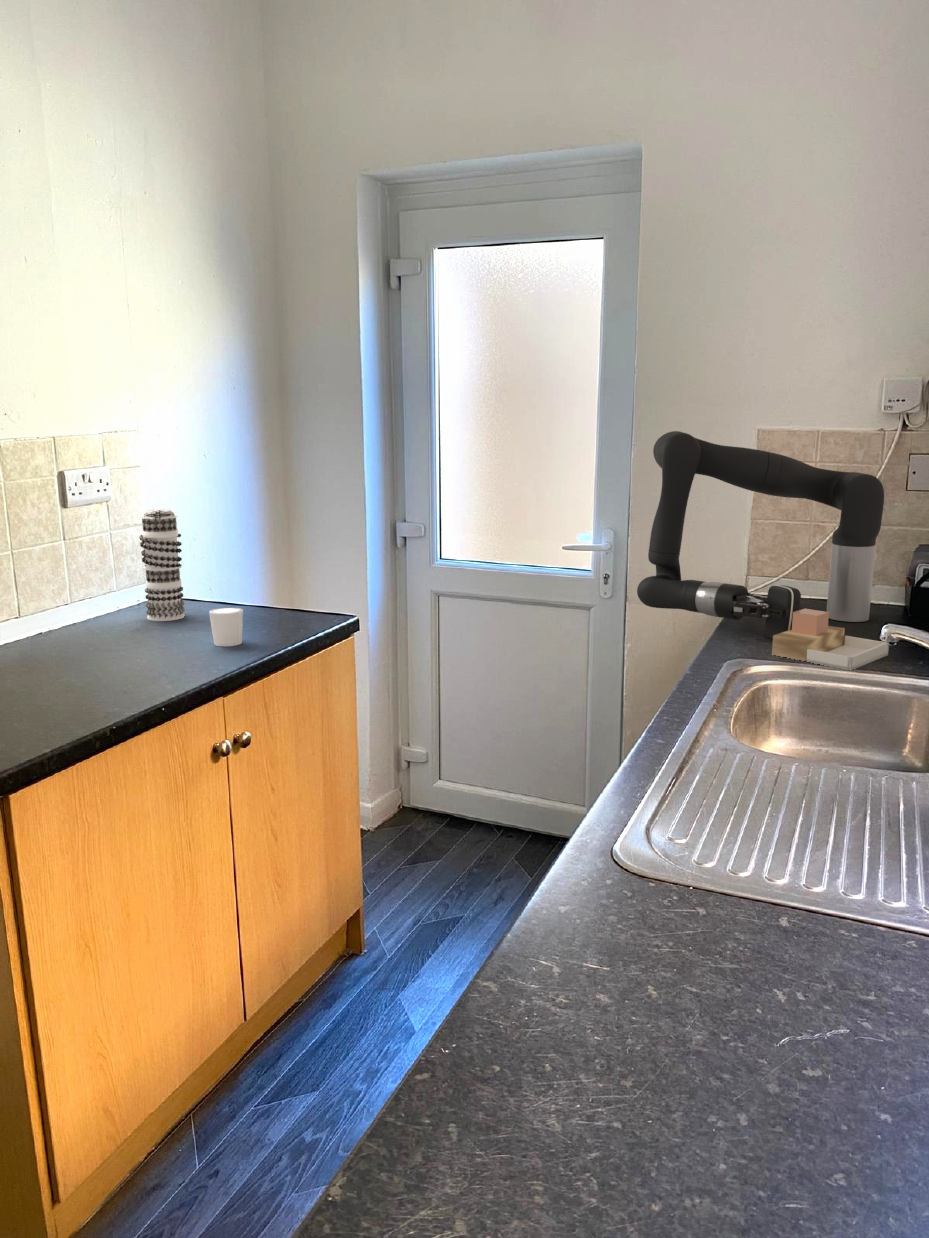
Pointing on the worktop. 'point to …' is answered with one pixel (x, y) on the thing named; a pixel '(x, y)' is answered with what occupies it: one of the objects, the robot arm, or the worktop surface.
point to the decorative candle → (162, 565)
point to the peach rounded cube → (810, 622)
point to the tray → (850, 653)
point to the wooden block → (806, 643)
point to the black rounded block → (782, 598)
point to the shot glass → (226, 626)
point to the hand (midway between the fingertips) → (794, 611)
